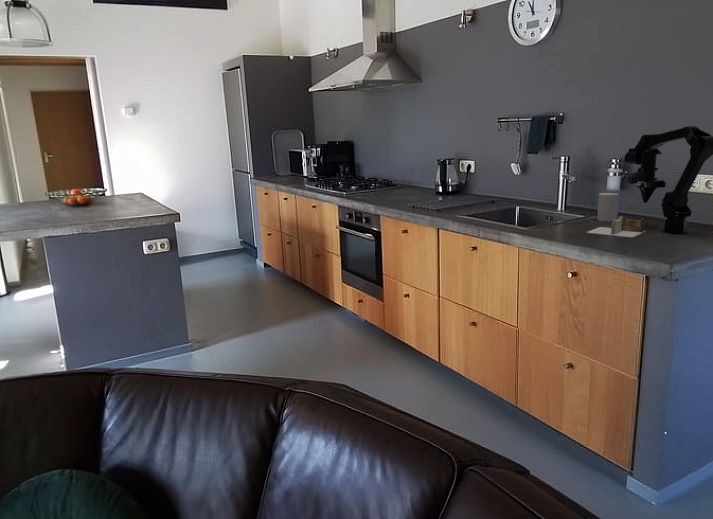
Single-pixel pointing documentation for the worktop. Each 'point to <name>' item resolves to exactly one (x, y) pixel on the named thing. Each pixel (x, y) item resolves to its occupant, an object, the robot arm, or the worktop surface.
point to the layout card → (621, 233)
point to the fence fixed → (633, 225)
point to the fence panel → (616, 225)
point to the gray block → (607, 206)
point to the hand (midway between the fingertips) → (645, 202)
